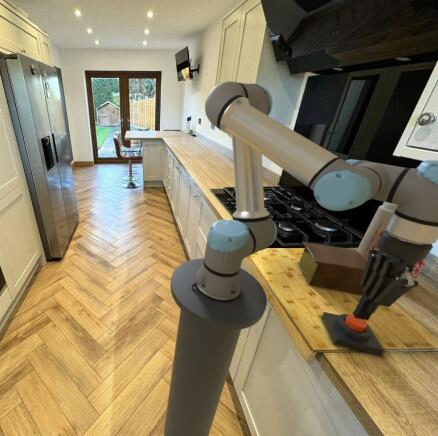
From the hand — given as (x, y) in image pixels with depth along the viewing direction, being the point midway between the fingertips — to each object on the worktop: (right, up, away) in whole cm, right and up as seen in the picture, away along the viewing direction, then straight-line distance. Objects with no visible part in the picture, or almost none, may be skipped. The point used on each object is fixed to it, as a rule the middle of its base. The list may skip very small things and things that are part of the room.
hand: (360, 316), depth 60 cm
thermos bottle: (+35, +8, +35) cm, 50 cm away
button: (0, -3, +2) cm, 3 cm away
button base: (0, -6, +3) cm, 7 cm away
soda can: (+33, +2, +23) cm, 40 cm away
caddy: (+10, +4, +24) cm, 27 cm away
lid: (+10, +12, +20) cm, 26 cm away
